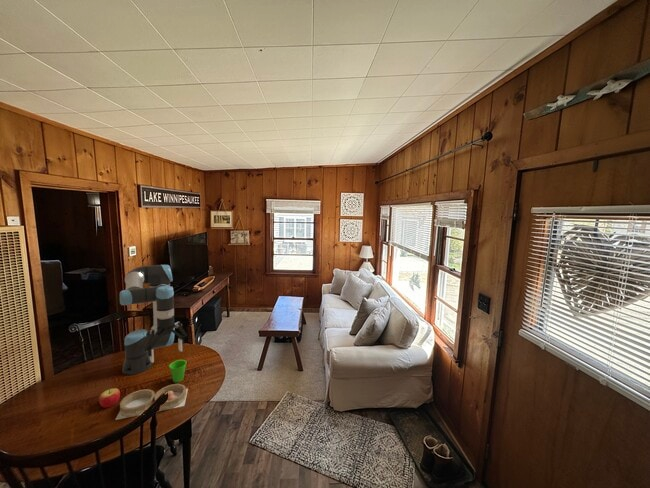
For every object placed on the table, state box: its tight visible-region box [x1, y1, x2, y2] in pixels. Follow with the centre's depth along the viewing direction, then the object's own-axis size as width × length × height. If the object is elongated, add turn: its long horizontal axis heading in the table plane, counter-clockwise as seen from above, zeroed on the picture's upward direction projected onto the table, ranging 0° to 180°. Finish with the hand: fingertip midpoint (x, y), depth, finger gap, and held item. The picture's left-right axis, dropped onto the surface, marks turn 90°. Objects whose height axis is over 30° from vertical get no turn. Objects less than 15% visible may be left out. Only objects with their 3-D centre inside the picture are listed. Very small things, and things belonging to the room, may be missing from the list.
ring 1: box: [119, 388, 156, 418], centre depth 130 cm, size 14×14×4 cm
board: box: [114, 388, 189, 421], centre depth 133 cm, size 29×14×1 cm, turn 111°
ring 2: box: [154, 383, 187, 411], centre depth 135 cm, size 14×14×4 cm
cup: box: [168, 359, 188, 384], centre depth 152 cm, size 9×9×11 cm
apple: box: [98, 387, 121, 409], centre depth 131 cm, size 8×8×10 cm
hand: (166, 355), depth 134 cm, fingers open, 13 cm apart
